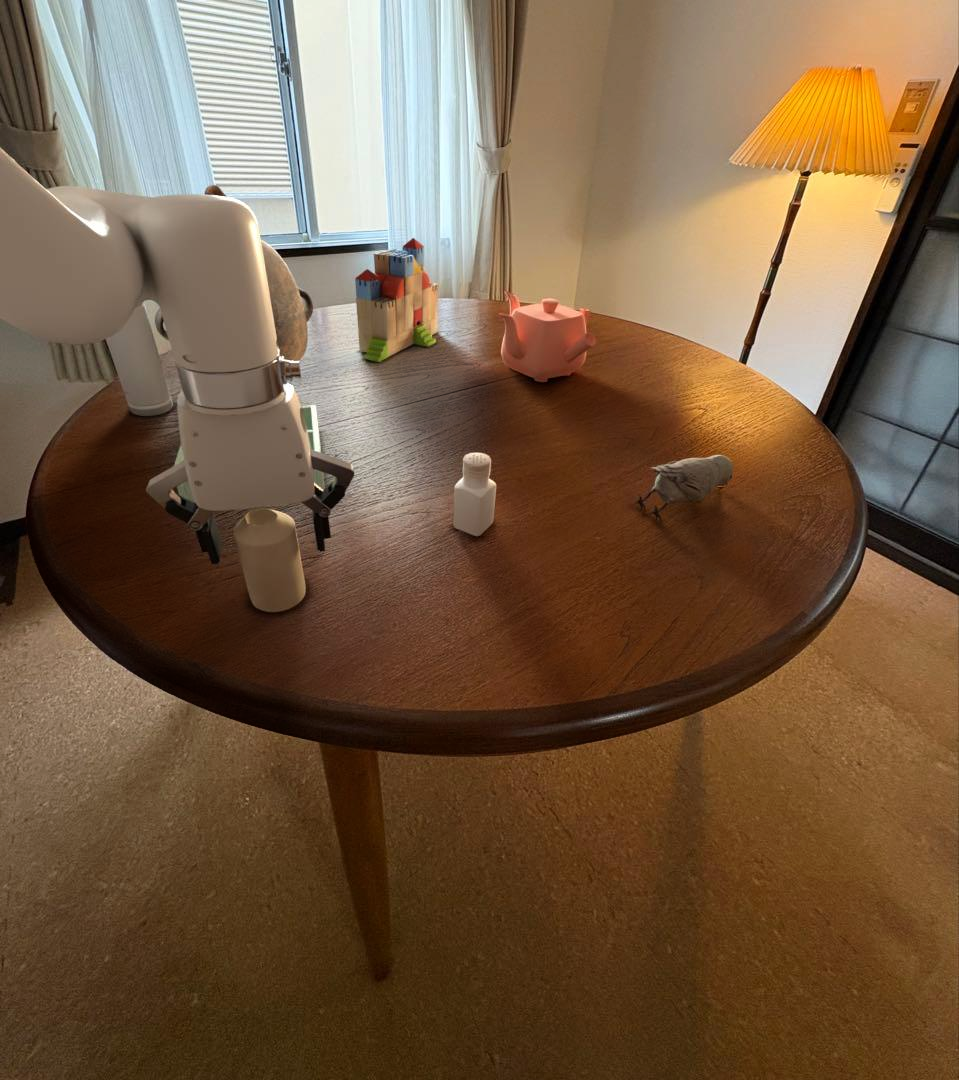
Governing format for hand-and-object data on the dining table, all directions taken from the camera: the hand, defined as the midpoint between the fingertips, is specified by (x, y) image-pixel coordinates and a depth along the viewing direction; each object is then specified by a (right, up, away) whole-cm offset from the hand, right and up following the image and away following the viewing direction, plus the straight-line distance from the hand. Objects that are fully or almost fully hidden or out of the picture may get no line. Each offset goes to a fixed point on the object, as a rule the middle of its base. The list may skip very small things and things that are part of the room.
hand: (270, 549), depth 55 cm
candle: (0, -5, +4) cm, 6 cm away
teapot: (+32, +35, +60) cm, 77 cm away
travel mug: (-33, +22, +36) cm, 53 cm away
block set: (+3, +45, +70) cm, 83 cm away
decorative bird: (+48, +6, +23) cm, 54 cm away
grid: (-11, +12, +24) cm, 29 cm away
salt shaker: (+20, +2, +15) cm, 25 cm away
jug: (-21, +30, +48) cm, 61 cm away
